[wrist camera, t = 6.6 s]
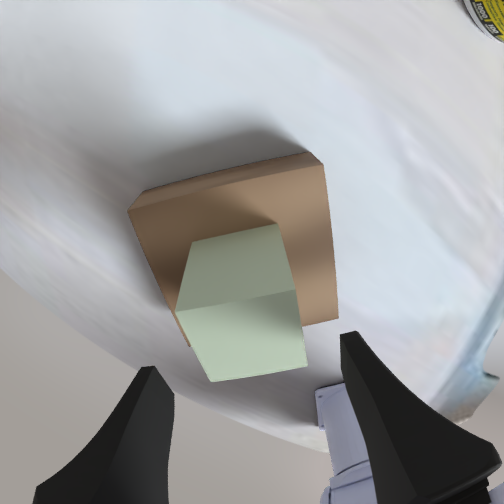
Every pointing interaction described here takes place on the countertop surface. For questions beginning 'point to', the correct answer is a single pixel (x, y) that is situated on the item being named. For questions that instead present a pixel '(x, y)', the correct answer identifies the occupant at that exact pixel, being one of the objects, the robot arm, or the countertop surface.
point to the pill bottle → (488, 17)
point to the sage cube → (241, 305)
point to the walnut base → (245, 225)
